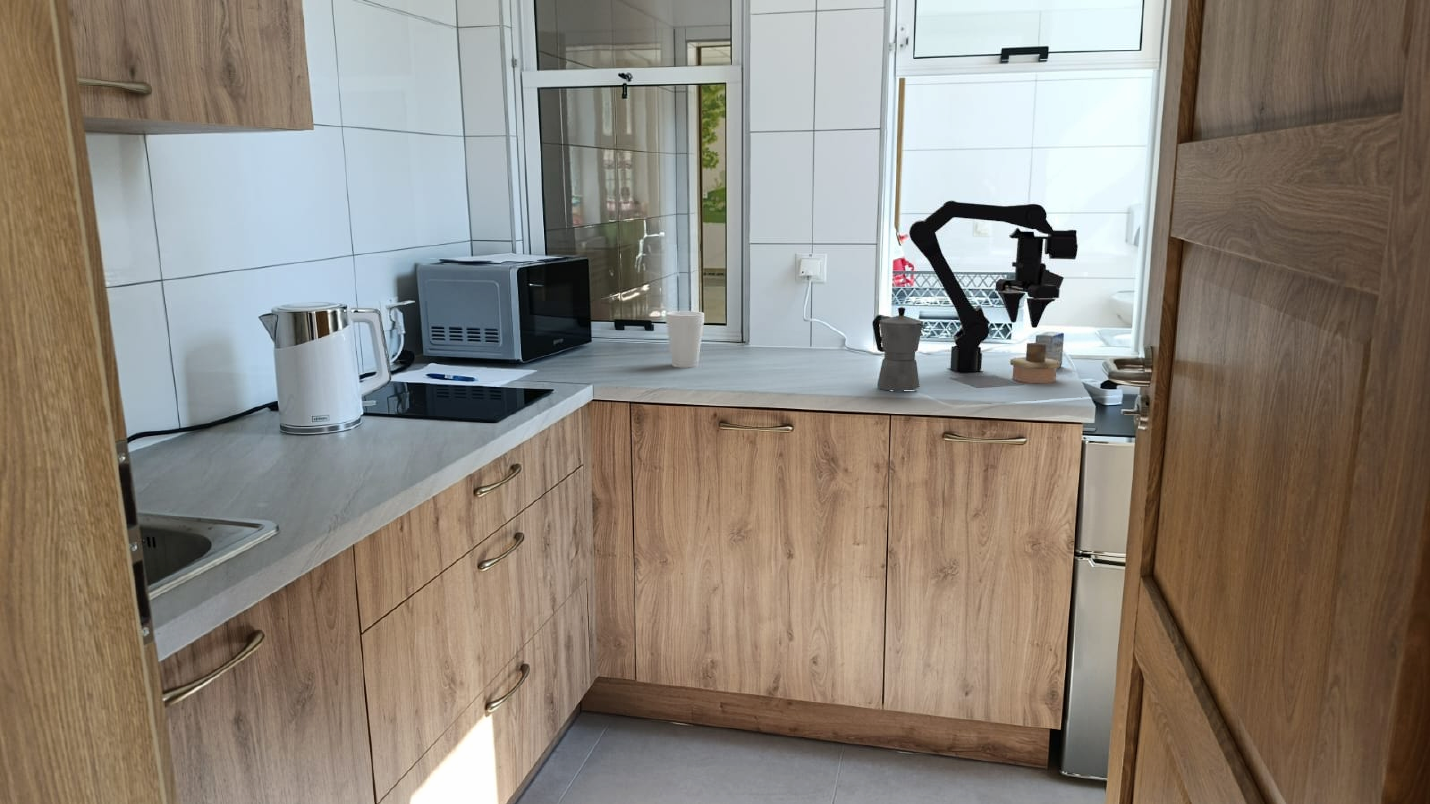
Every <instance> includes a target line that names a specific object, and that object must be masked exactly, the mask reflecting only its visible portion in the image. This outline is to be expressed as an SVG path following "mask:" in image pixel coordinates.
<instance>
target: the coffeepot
mask: <svg viewBox="0 0 1430 804" xmlns="http://www.w3.org/2000/svg"><path fill="white" fill-rule="evenodd" d="M897 310H898V315H895V316H892V317H891V316H888V315H884V314H877V315H875V318H874V319H873V320H872V322H871V323H872V324H871V325H872V330H873V334H874V340H875V344H876V350H877V351H878V352H881V353H884V358H883V359H882V360H881V366H880V370H879V376H878V379H877V386H876V387H877V388H878V389H879V388H880V389H879V390H881V389H882V390H881V391H885V390H893V391H904V390H915V389H918V388H920V379H919V371H918V364H917V360H916V352H918V350H919V345H920V341H921V335H922V330H923V329H924V327H925V325H924V321H922V320H919V319H916V318H913V317H910V316H907V315H905V312H906V307H904V306H903V307H902V306H900V307H898V308H897Z"/></svg>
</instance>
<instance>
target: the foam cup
mask: <svg viewBox="0 0 1430 804" xmlns="http://www.w3.org/2000/svg"><path fill="white" fill-rule="evenodd" d="M665 324H666V327H667V328H666V329H667V333H668V334H667V336H668V343H669V349H670V357H671V358H670V359H671V364H672V367H675V368H679V369H680V368H682V369H683V368H685V369H687V368H697V367H698V366H699V359H700V353H701V352H700V351H701V343H702V336H703V329H704V324H705V312H701V311H693V310H673V311H668V312H665Z"/></svg>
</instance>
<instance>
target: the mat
mask: <svg viewBox="0 0 1430 804" xmlns="http://www.w3.org/2000/svg"><path fill="white" fill-rule="evenodd" d="M949 379H950V380H953V381H956V382H959V383H962V384H964V385H968V386H971V387H974V388H977V389H978V388H979V389H980V388H984V389H985V388H996V387H997V388H998V387H1010V386H1011V387H1012V386H1015V387H1016V386H1025V384H1024V383H1022V382H1021V383H1020V382H1019V381H1015V380H1012V379H1008V378H1004V377H1002V376H998V375H995V374H994V375H976V376H975V375H974V376H958V377H949Z"/></svg>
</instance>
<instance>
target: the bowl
mask: <svg viewBox="0 0 1430 804" xmlns="http://www.w3.org/2000/svg"><path fill="white" fill-rule="evenodd" d="M1012 366H1013V365H1012ZM1012 368H1013V369H1012V380H1014V381H1016V382H1021V383H1029V384H1050V383H1051V384H1053V383H1054V382H1056V381H1057V373H1058V372H1057V371H1058V368H1053V369H1032V368H1023V367H1017V366H1013V367H1012Z"/></svg>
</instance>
